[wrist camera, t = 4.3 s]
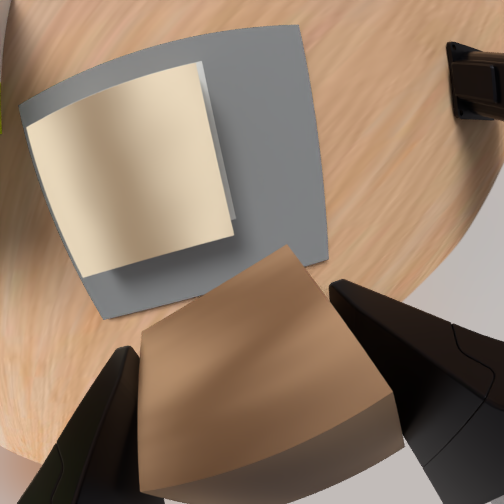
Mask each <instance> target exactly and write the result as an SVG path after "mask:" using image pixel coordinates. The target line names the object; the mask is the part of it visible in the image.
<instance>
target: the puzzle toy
mask: <svg viewBox="0 0 504 504" xmlns="http://www.w3.org/2000/svg"><path fill="white" fill-rule="evenodd" d="M10 4H11V0H0V134H2V125H1V70H2V57H3V47H4V38H5V31H6V25H7V19H8V14H9V9H10Z"/></svg>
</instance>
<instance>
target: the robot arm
mask: <svg viewBox="0 0 504 504" xmlns="http://www.w3.org/2000/svg"><path fill="white" fill-rule="evenodd" d="M447 50H448V57H449V63H450V71H451V79H452V89H453V101H454V114H455V116H456V118H459V119H477V120H494V119H496V120H500V121H504V53H494V52H483V51H480V50H477V49H474V48H471V47H469V46H465V45H462V44H459V43H456V42H447ZM329 298H330V303H331V304H332V306H333V307H334V308H335V310H336V311H337V312H338V314H339V315H340V317H341V318H342V319H343V321H344V322H345V324H346V325H347V326H348V328H349V329H350V331H351V332H352V333H353V335H354V336H355V338H356V339H357V340H358V342H359V343H360V345H361V346H362V348H363V349H364V350H365V352H366V353H367V355H368V356H369V358H370V359H371V361H372V362H373V363H374V365H375V366H376V368H377V369H378V371H379V372H380V374H381V375H382V377H383V378H384V379H385V381H386V382H387V384H388V385H389V387H390V388H391V390H392V391H393V395H394V399H395V403H396V407H397V412H398V416H399V421H400V425H401V430H402V434H403V436H404V438H405V439H406V441H407V443H408V444H409V446H410V447H411V449H412V451H413V453H414V454H415V456H416V457H417V459H418V461H419V463H420V464H421V466H422V467H423V470H424V471H425V473H426V475H427V476H428V478H429V480H430V481H431V483H432V485H433V487H434V488H435V490H436V492H437V493H438V495H439V497H440V499H441V500H442V502H443V504H485V503H487V502H490V501H491V503H492V504H504V342H503V341H500V340H497V339H493V338H490V337H488V336H484V335H481V334H479V333H476V332H474V331H471V330H468V329H466V328H463V327H461V326H459V325H456V324H451V322H449V321H446V320H443V319H441V318H439V317H436V316H434V315H432V314H429V313H426V312H424V311H422V310H419V309H417V308H414V307H412V306H409V305H407V304H404V303H402V302H400V301H397V300H395V299H392V298H390V297H387V296H385V295H382V294H380V293H377V292H375V291H372V290H370V289H367V288H365V287H362V286H360V285H358V284H355V283H353V282H350V281H348V280H345V279H340V280H338V281H335V282H332V283H331V284H330V285H329ZM139 363H140V358H139V356H138V355H137V353H136V352H135V351H134V349H133V348H132V347H131V346H124V347H120V348H117V349H116V350H115V352H114V353H113V355H112V356H111V357H110V359H109V360H108V362H107V363H106V365H105V366H104V368H103V369H102V371H101V372H100V374H99V375H98V377H97V378H96V380H95V381H94V383H93V384H92V386H91V387H90V389H89V390H88V392H87V393H86V395H85V397H84V398H83V400H82V401H81V403H80V404H79V406H78V408H77V409H76V411H75V412H74V414H73V415H72V417H71V419H70V420H69V422H68V424H67V425H66V427H65V428H64V430H63V432H62V433H61V435H60V437H59V438H58V440H57V443H56V444H55V445H54V447H53V448H52V450H51V452H50V453H49V455H48V457H47V458H46V460H45V462H44V463H43V465H42V467H41V468H40V470H39V471H38V473H37V474H36V476H35V477H34V479H33V480H32V482H31V483H30V485H29V486H28V488H27V489H26V491H25V492H24V494H23V495H22V496H21V498H20V500H19V501H18V502H17V504H165V502H164V498H161V497H157V496H153V495H149V494H146V493H142V492H140V483H139V466H138V382H139Z"/></svg>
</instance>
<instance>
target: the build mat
mask: <svg viewBox="0 0 504 504" xmlns="http://www.w3.org/2000/svg"><path fill="white" fill-rule="evenodd" d="M191 63H196V66H197V71H198V75H199V80H200V85H201V89H202V94H203V99H204V103H205V108H206V112H207V117H208V122H209V126H210V131H211V135H212V140H213V144H214V149H215V153H216V158H217V162H218V166H219V171H220V175H221V180H222V184H223V188H224V193H225V197H226V201H227V206H228V210H229V214H230V219H231V223H232V227H233V232H234V235H233V236H229V237H226V238H222V239H218V240H215V241H211V242H207V243H203V244H200V245H196V246H193V247H189V248H185V249H182V250H178V251H174V252H171V253H167V254H164V255H160V256H157V257H153V258H149V259H146V260H142V261H139V262H135V263H132V264H128V265H125V266H122V267H118V268H115V269H111V270H108V271H104V272H101V273H98V274H94V275H91V276H88V277H84V278H83V277H82V275H81V273H80V271H79V269H78V267H77V265H76V263H75V261H74V259H73V257H72V255H71V252H70V250H69V248H68V246H67V244H66V242H65V239H64V237H63V235H62V232H61V230H60V228H59V225H58V223H57V221H56V218H55V216H54V213H53V211H52V208H51V205H50V203H49V200H48V197H47V195H46V192H45V189H44V186H43V183H42V180H41V177H40V174H39V171H38V168H37V165H36V162H35V158H34V155H33V151H32V148H31V144H30V140H29V137H28V133H27V129H26V127H28V126H29V125H31V124H33V123H35V122H37V121H38V120H40V119H42V118H44V117H46V116H48V115H50V114H52V113H54V112H56V111H58V110H60V109H62V108H64V107H66V106H68V105H70V104H73V103H75V102H77V101H79V100H81V99H84V98H86V97H88V96H91V95H93V94H96V93H98V92H101V91H103V90H106V89H108V88H111V87H114V86H117V85H119V84H122V83H125V82H128V81H131V80H134V79H137V78H140V77H143V76H146V75H150V74H153V73H156V72H160V71H164V70H167V69H171V68H175V67H179V66H183V65H187V64H191ZM18 106H19V111H20V116H21V120H22V125H23V129H24V133H25V137H26V141H27V145H28V148H29V152H30V155H31V159H32V162H33V165H34V168H35V172H36V175H37V178H38V181H39V184H40V187H41V189H42V192H43V195H44V198H45V200H46V203H47V206H48V208H49V211H50V213H51V216H52V218H53V221H54V223H55V226H56V228H57V230H58V233H59V235H60V237H61V240H62V242H63V244H64V246H65V248H66V251H67V253H68V255H69V257H70V259H71V261H72V263H73V265H74V267H75V269H76V271H77V273H78V275H79V277H80V279H81V281H82V283H83V285H84V286H85V288H86V290H87V292H88V294H89V296H90V297H91V299H92V301H93V303H94V305H95V306H96V308H97V310H98V311H99V313H100V315H101V317H102V318H103V320H105V319H109V318H113V317H118V316H122V315H126V314H130V313H134V312H138V311H142V310H146V309H150V308H154V307H158V306H162V305H166V304H170V303H174V302H178V301H182V300H185V299H189V298H193V297H197V296H201V295H204V294H206V293H208V292H209V291H211V290H213V289H214V288H216V287H218V286H219V285H221V284H222V283H224V282H226V281H227V280H229V279H231V278H232V277H234V276H236V275H237V274H239V273H241V272H242V271H244V270H246V269H247V268H249V267H250V266H252V265H254V264H255V263H257V262H259V261H260V260H262V259H264V258H265V257H267V256H268V255H270V254H272V253H273V252H275V251H277V250H278V249H280V248H282V247H283V246H285V245H286V244H287V245H288V246H289V247H290V249H291V250H292V251H293V253H294V254H295V255H296V257H297V258H298V259H299V261H300V262H301V263H302V265H303V266H308V265H311V264H314V263H318V262H321V261H325V260H328V259H329V256H328V237H327V222H326V209H325V196H324V186H323V175H322V166H321V157H320V148H319V140H318V132H317V125H316V118H315V111H314V104H313V98H312V92H311V86H310V80H309V74H308V69H307V63H306V58H305V53H304V48H303V43H302V38H301V33H300V29H299V25H278V26H264V27H253V28H243V29H235V30H228V31H222V32H215V33H210V34H204V35H199V36H194V37H189V38H185V39H180V40H176V41H172V42H168V43H164V44H160V45H157V46H153V47H150V48H146V49H143V50H140V51H137V52H134V53H131V54H128V55H125V56H122V57H119V58H116V59H113V60H111V61H108V62H105V63H103V64H100V65H98V66H95V67H93V68H90V69H88V70H86V71H83V72H81V73H79V74H77V75H75V76H72V77H70V78H68V79H66V80H64V81H62V82H60V83H58V84H56V85H54V86H52V87H50V88H48V89H46V90H44V91H43V92H41V93H39V94H37V95H35V96H34V97H32V98H30V99H28V100H27V101H25V102H23V103H22V104H20V105H18Z"/></svg>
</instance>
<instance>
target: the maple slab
mask: <svg viewBox="0 0 504 504" xmlns="http://www.w3.org/2000/svg"><path fill="white" fill-rule="evenodd" d="M26 129H27V133H28V137H29V140H30V144H31V148H32V151H33V155H34V158H35V162H36V165H37V168H38V171H39V174H40V177H41V180H42V183H43V186H44V189H45V192H46V195H47V197H48V200H49V203H50V205H51V208H52V211H53V213H54V216H55V218H56V221H57V223H58V225H59V228H60V230H61V232H62V235H63V237H64V239H65V242H66V244H67V246H68V248H69V250H70V252H71V255H72V257H73V259H74V261H75V263H76V265H77V267H78V269H79V271H80V273H81V275H82V277H83V278H84V277H88V276H91V275H94V274H98V273H101V272H104V271H108V270H111V269H115V268H118V267H122V266H125V265H128V264H132V263H135V262H139V261H142V260H146V259H149V258H153V257H157V256H160V255H164V254H167V253H171V252H174V251H178V250H182V249H185V248H189V247H193V246H196V245H200V244H203V243H207V242H211V241H215V240H218V239H222V238H226V237H229V236H233V235H234V232H233V227H232V223H231V219H230V214H229V210H228V206H227V201H226V197H225V193H224V188H223V184H222V180H221V175H220V171H219V166H218V162H217V158H216V153H215V149H214V144H213V140H212V135H211V131H210V126H209V122H208V117H207V112H206V108H205V103H204V99H203V94H202V89H201V85H200V80H199V75H198V71H197V66H196V63H191V64H187V65H183V66H179V67H175V68H171V69H167V70H164V71H160V72H156V73H153V74H150V75H146V76H143V77H140V78H137V79H134V80H131V81H128V82H125V83H122V84H119V85H117V86H114V87H111V88H108V89H106V90H103V91H101V92H98V93H96V94H93V95H91V96H88V97H86V98H84V99H81V100H79V101H77V102H75V103H73V104H70V105H68V106H66V107H64V108H62V109H60V110H58V111H56V112H54V113H52V114H50V115H48V116H46V117H44V118H42V119H40V120H38V121H37V122H35V123H33V124H31V125H29V126H28V127H26Z"/></svg>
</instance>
